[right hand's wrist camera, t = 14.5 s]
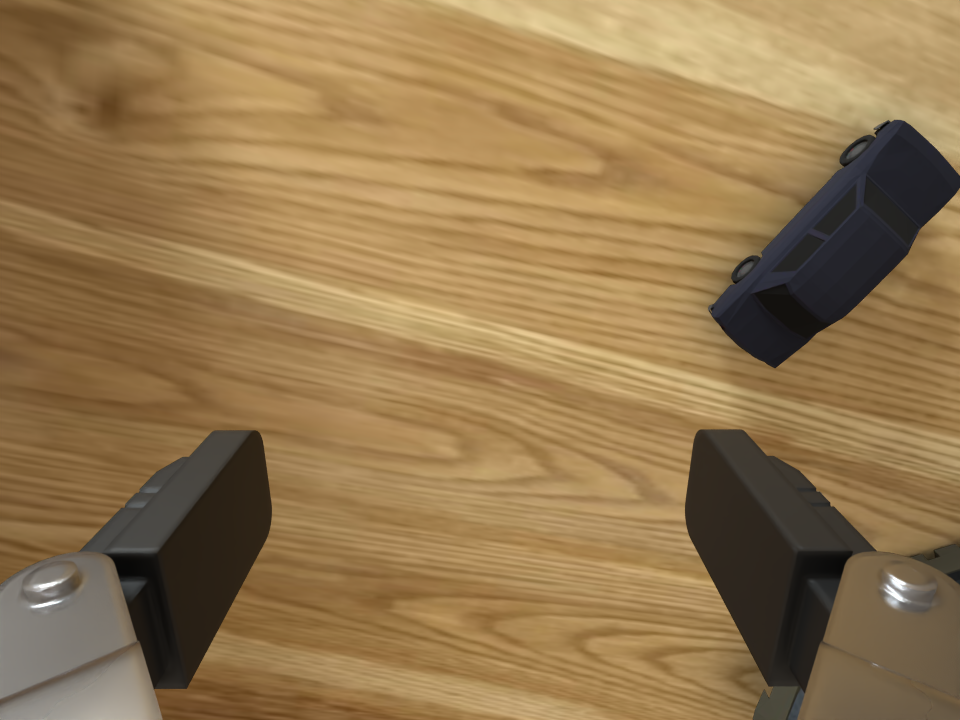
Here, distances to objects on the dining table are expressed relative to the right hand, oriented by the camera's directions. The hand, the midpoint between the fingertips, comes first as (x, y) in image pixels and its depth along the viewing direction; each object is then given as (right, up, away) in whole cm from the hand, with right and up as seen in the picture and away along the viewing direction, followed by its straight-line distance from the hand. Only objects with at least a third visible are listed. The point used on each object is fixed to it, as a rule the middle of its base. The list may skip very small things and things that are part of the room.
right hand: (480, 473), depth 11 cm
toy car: (+20, +9, +27) cm, 35 cm away
